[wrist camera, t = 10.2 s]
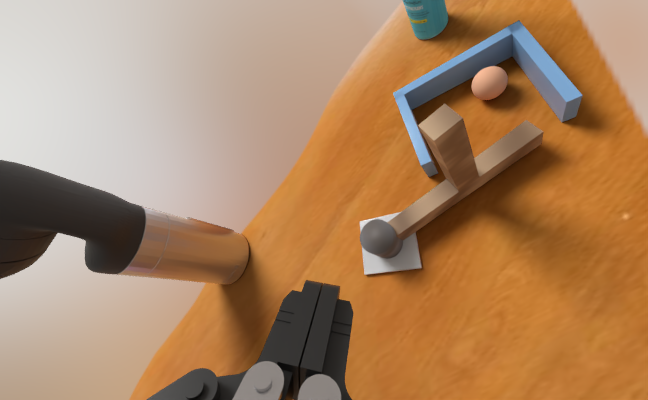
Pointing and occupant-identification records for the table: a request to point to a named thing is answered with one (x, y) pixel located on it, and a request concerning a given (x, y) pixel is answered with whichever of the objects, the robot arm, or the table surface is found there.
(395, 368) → the table surface
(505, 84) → the ball
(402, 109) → the blue u-shaped barrier
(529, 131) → the lever
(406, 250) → the lever base
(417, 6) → the tube
